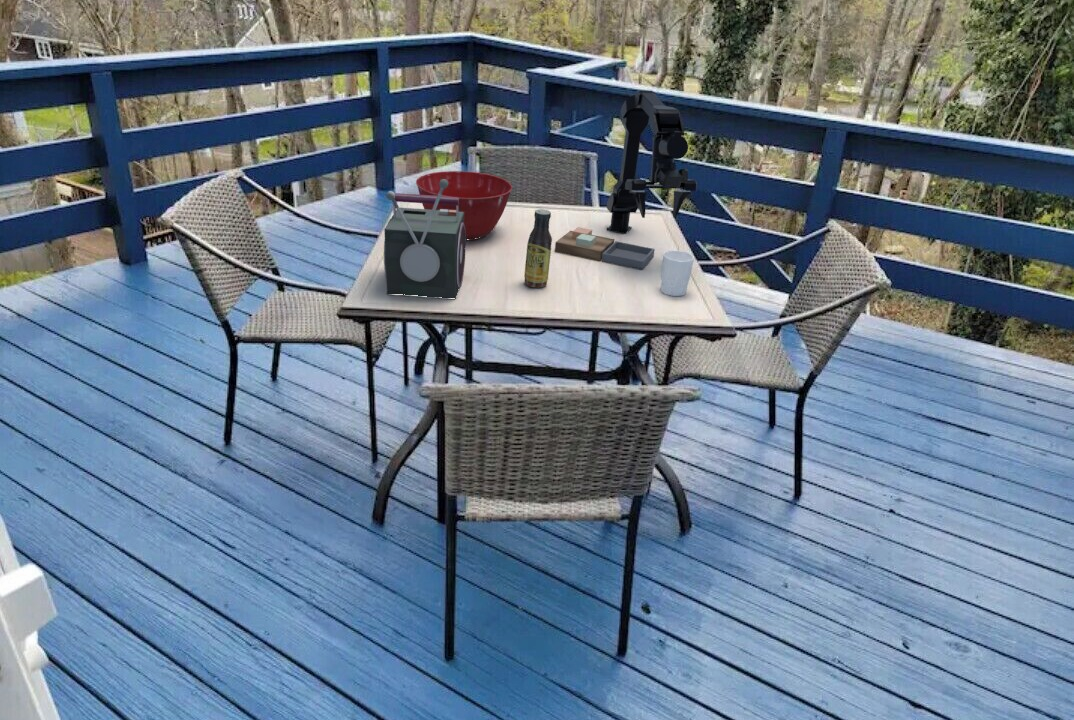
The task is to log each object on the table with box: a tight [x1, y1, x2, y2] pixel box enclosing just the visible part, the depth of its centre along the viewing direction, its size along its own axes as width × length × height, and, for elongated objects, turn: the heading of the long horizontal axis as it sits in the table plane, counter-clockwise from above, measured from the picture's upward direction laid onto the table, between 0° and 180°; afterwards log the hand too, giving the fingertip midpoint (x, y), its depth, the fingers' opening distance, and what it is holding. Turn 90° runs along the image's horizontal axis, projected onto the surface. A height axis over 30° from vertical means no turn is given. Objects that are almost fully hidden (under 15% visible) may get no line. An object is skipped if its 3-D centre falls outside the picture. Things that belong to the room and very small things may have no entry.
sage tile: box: [576, 234, 597, 247], centre depth 217 cm, size 4×4×2 cm
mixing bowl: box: [415, 170, 513, 241], centre depth 225 cm, size 28×28×16 cm
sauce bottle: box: [524, 208, 553, 289], centre depth 192 cm, size 6×6×20 cm
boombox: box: [383, 179, 467, 300], centre depth 186 cm, size 18×21×30 cm
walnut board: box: [554, 230, 615, 262], centre depth 221 cm, size 12×14×3 cm
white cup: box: [659, 249, 695, 297], centre depth 196 cm, size 8×8×10 cm
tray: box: [601, 240, 656, 271], centre depth 217 cm, size 12×12×2 cm
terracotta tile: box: [572, 226, 593, 238], centre depth 222 cm, size 4×4×2 cm
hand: (659, 217), depth 204 cm, fingers open, 9 cm apart
